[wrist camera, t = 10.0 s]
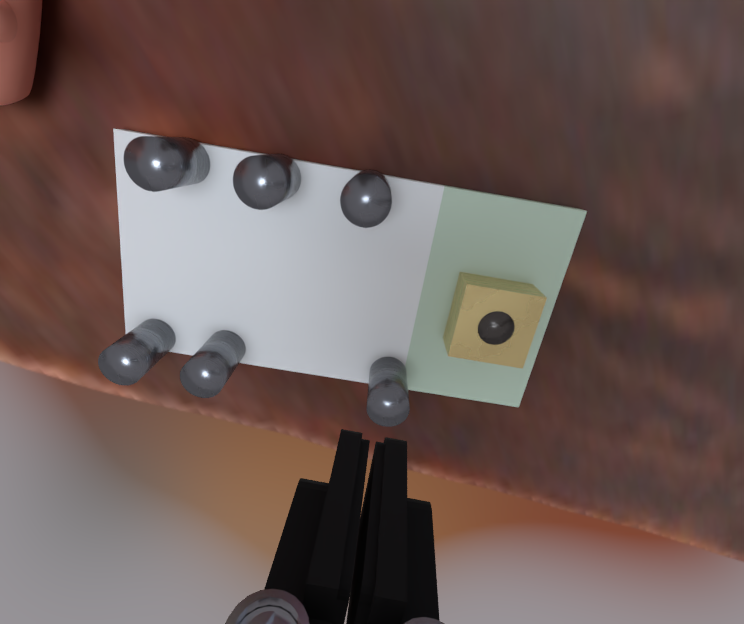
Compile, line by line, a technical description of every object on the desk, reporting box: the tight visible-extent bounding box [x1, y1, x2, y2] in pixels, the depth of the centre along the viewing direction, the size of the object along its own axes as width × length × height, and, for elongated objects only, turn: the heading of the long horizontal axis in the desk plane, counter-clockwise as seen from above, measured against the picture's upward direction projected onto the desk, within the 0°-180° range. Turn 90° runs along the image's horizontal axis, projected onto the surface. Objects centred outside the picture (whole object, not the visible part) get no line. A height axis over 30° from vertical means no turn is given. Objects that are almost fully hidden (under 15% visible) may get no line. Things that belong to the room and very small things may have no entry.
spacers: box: [98, 136, 409, 427], centre depth 23 cm, size 17×13×4 cm
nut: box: [443, 272, 547, 369], centre depth 24 cm, size 4×4×2 cm
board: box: [113, 129, 587, 407], centre depth 26 cm, size 26×13×1 cm, turn 81°
